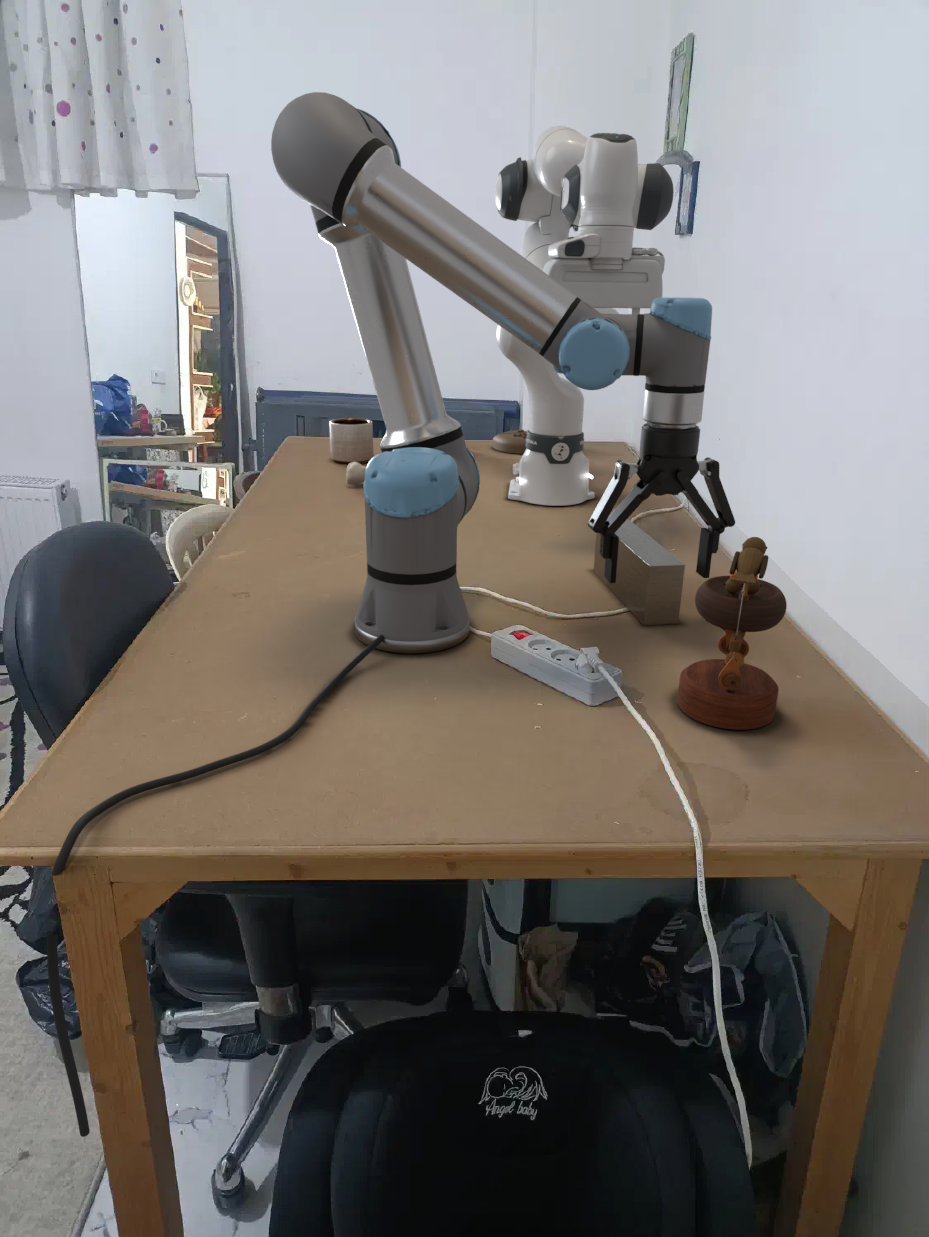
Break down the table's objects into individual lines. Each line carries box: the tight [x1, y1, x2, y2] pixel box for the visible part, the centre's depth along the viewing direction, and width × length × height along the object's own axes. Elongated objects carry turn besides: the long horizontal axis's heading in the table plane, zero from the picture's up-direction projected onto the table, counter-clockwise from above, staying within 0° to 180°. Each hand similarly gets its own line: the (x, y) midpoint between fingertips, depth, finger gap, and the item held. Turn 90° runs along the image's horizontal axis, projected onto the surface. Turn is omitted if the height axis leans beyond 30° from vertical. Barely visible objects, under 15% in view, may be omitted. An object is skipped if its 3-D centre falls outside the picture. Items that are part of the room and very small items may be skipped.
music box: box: [676, 536, 788, 731], centre depth 91 cm, size 15×11×20 cm
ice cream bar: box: [492, 428, 529, 455], centre depth 225 cm, size 21×28×4 cm
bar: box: [593, 518, 686, 626], centre depth 126 cm, size 23×5×9 cm, turn 9°
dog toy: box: [345, 462, 366, 486], centre depth 189 cm, size 20×6×5 cm, turn 99°
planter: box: [328, 417, 375, 464], centre depth 212 cm, size 11×11×10 cm
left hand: (656, 577), depth 118 cm, fingers open, 13 cm apart
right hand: (598, 337), depth 141 cm, fingers open, 8 cm apart
